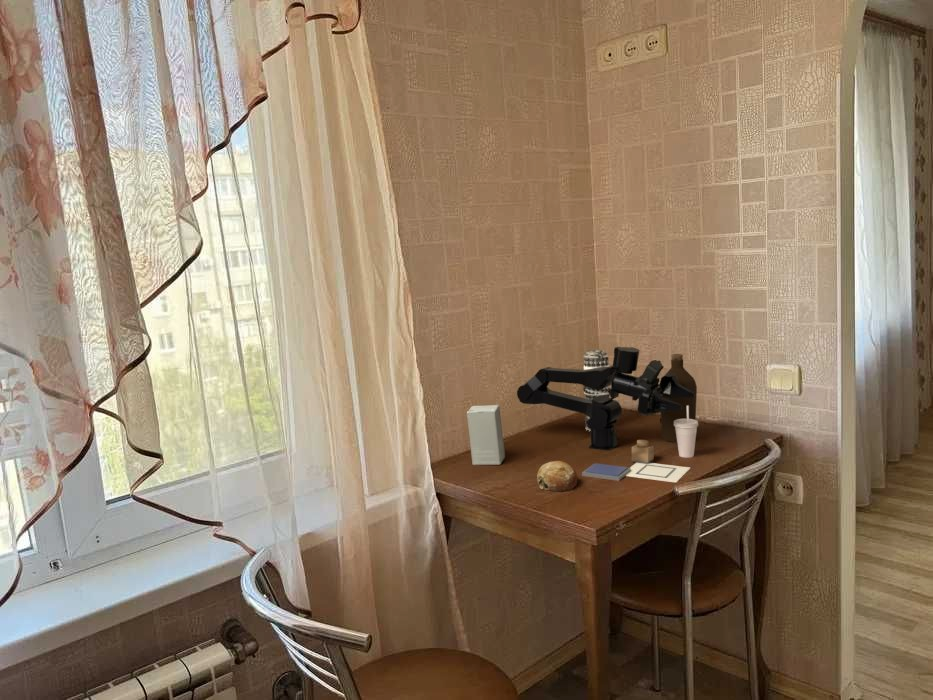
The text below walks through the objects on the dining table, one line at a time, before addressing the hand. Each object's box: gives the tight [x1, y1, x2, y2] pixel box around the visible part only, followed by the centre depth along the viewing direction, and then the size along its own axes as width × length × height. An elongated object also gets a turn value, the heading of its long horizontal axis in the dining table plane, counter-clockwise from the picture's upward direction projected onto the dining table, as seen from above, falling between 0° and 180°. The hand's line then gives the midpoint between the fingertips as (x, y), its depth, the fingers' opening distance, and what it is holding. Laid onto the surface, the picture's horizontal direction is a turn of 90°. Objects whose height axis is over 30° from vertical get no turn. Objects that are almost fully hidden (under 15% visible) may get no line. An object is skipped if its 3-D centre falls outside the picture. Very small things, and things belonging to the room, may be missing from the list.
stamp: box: [631, 439, 655, 464], centre depth 192 cm, size 4×4×6 cm
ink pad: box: [581, 463, 631, 482], centre depth 185 cm, size 10×8×1 cm
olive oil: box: [658, 353, 698, 443], centre depth 210 cm, size 11×11×25 cm
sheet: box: [624, 462, 691, 483], centre depth 184 cm, size 14×12×1 cm
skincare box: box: [466, 404, 506, 466], centre depth 200 cm, size 8×7×16 cm
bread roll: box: [536, 460, 578, 493], centre depth 179 cm, size 10×10×8 cm
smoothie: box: [674, 406, 699, 459], centre depth 194 cm, size 6×6×14 cm
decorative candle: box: [582, 349, 611, 432], centre depth 226 cm, size 9×9×25 cm
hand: (687, 401), depth 191 cm, fingers open, 9 cm apart
